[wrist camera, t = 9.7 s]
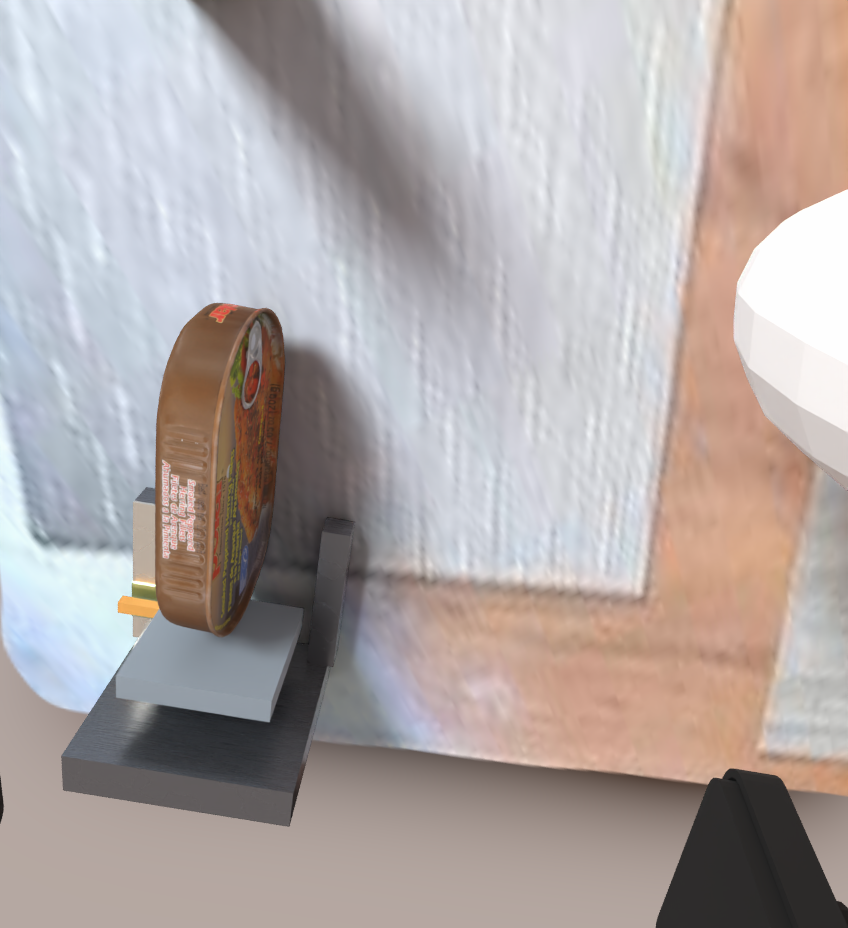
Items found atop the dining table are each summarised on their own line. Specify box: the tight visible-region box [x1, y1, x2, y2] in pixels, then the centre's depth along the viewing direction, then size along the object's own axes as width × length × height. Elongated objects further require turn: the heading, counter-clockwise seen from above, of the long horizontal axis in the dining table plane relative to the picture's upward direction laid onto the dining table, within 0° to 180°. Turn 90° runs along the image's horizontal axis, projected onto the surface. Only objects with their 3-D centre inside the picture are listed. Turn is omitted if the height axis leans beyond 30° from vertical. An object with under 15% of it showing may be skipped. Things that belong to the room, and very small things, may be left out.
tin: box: [155, 303, 285, 637], centre depth 34 cm, size 15×3×8 cm, turn 171°
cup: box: [734, 190, 848, 491], centre depth 23 cm, size 7×7×21 cm
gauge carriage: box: [116, 596, 304, 722], centre depth 37 cm, size 9×1×7 cm, turn 81°
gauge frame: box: [61, 487, 355, 826], centre depth 36 cm, size 11×10×10 cm
